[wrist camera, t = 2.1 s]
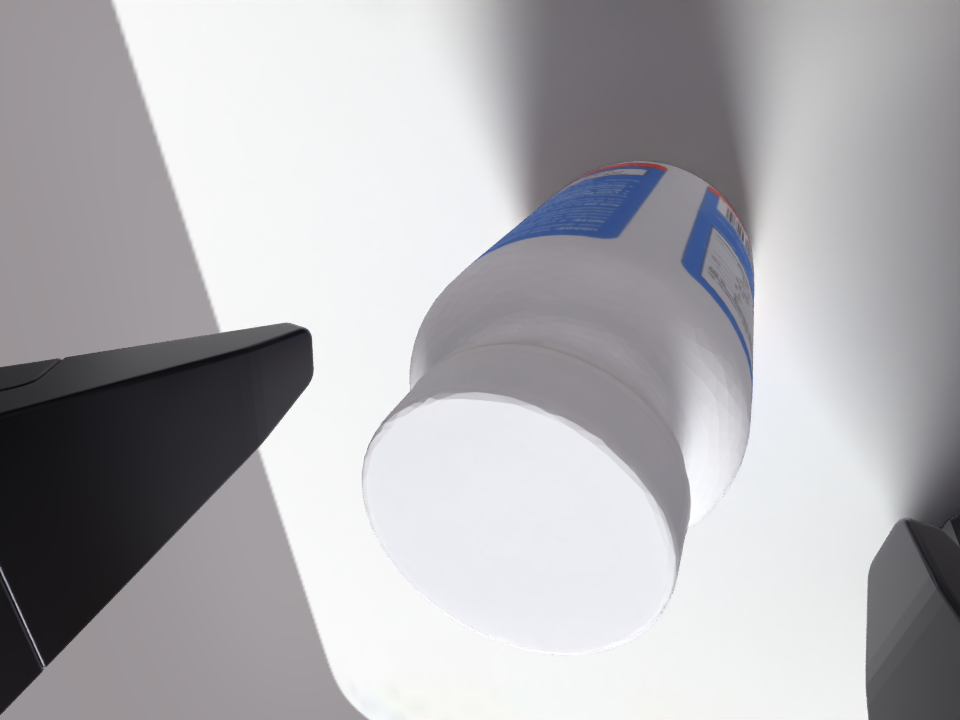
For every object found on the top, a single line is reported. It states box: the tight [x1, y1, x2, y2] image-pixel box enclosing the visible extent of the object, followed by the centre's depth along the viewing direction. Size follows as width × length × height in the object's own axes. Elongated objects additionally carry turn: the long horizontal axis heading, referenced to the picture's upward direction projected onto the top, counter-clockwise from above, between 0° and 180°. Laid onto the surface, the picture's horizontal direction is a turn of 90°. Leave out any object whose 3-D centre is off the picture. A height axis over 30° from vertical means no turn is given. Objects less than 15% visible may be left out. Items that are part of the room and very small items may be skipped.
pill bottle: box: [362, 161, 754, 655], centre depth 11 cm, size 6×5×10 cm
